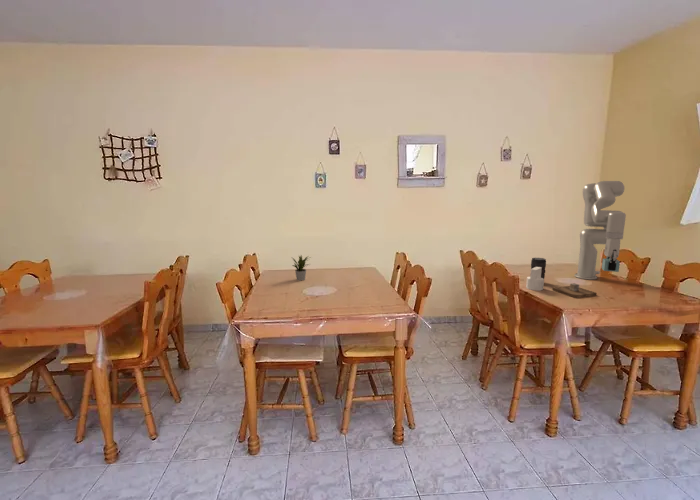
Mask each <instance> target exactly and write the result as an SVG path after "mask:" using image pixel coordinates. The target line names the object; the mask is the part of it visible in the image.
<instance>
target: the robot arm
mask: <svg viewBox="0 0 700 500" xmlns="http://www.w3.org/2000/svg"><path fill="white" fill-rule="evenodd" d="M624 192H625V185H624V182H623V181H620V180H603V181H599V182H596V183H588V184H585V185H584V186H583V189H582V198H583V201H584V212H583V213H584V214H583V224H584V225H585V226H586V227H591V228H584V229H582V230H581V231H580V232H579V244H580V245H579V253H578V254H579V255H578V264H577V273H576V272H575V273H574V276H573V277H575V278H578V279H582V280H590V281H591V280H597V279H598V276H597V275H599V274H601V272H600V270H596V266H597V258H598V250H597V248H596V246H595V245H604V249H603V250H604V251H603V254H604V255H605V259H609V258H610V263H609V265H608V270H613V271H615V270H616V260H618V259H617V258H619V255H620V249H621V248H620V247H621V240H623V239H624V233H625V224H626V217H627V214H626V213H625V212H623V211H622V210H612V209H611V210H607V209H606V208H608V207H611V206H613V205H614V204H615V202H616V199H617V197H620V196H622V195H623V194H624ZM602 209H606V210H602ZM593 227H594V228H593ZM597 227H598V228H597ZM611 258H612V260H611ZM613 271H612V272H613Z"/></svg>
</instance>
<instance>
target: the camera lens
mask: <svg viewBox="0 0 700 500" xmlns="http://www.w3.org/2000/svg"><path fill="white" fill-rule="evenodd" d="M546 260H547V259H546V258H544V257H531V259H530V261H531V262H530V270H531V269H532V268H535V267H542V270H541V278H543V279H544V280H545V277H546V267H547V261H546ZM529 274H531V272H530V273H529Z"/></svg>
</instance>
